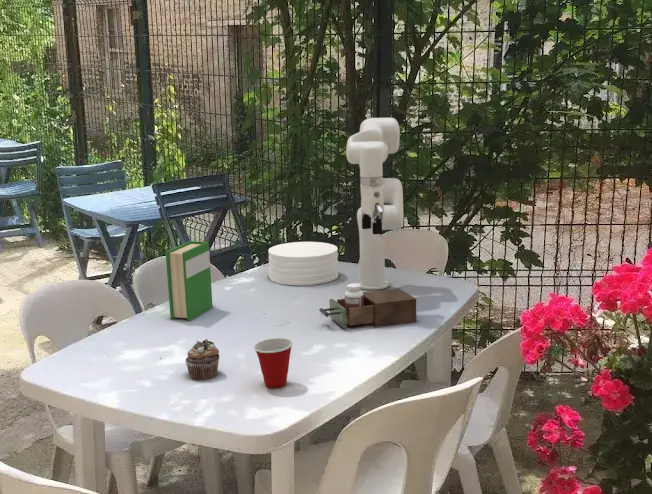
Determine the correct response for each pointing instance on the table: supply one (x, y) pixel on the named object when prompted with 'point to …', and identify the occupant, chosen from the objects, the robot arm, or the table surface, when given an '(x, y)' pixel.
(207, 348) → the cupcake
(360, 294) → the pill bottle
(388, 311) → the cabinet
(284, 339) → the plastic cup
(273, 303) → the table surface
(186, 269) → the hardback book
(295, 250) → the plate stack
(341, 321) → the drawer
